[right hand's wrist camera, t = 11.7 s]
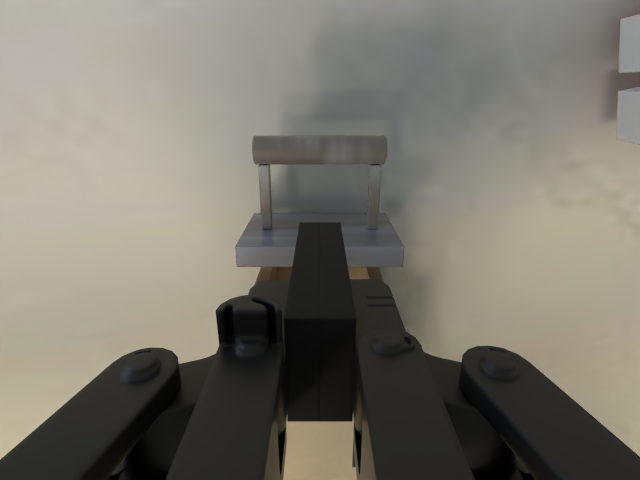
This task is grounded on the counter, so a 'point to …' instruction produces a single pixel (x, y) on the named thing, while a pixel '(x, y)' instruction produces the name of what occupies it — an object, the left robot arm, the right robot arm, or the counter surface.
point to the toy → (635, 103)
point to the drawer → (282, 228)
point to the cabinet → (319, 451)
